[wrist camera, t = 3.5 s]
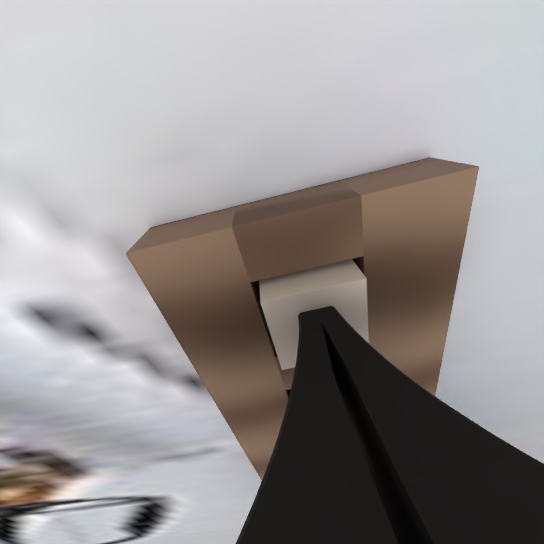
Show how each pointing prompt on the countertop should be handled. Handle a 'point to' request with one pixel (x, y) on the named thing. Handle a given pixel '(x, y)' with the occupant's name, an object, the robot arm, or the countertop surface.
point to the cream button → (312, 302)
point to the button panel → (304, 255)
